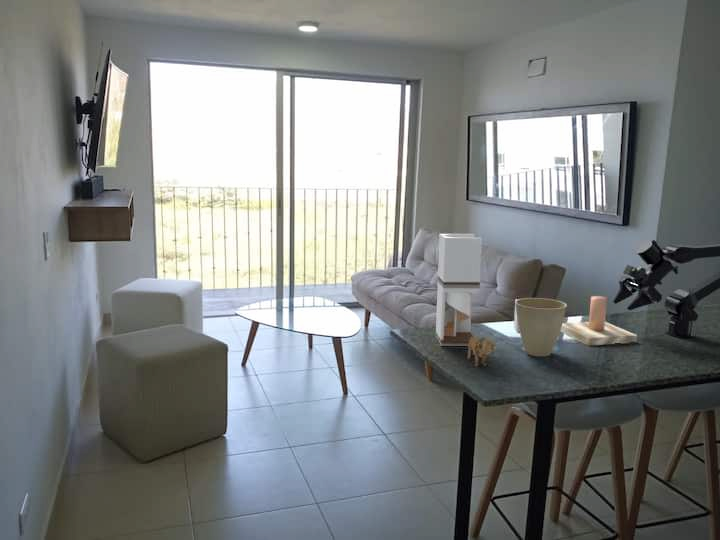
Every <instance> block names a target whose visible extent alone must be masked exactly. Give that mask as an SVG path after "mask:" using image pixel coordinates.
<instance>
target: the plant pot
mask: <svg viewBox="0 0 720 540" xmlns="http://www.w3.org/2000/svg"><path fill="white" fill-rule="evenodd" d="M566 311H567V303H565V302H563V301H561V300H556V299H551V298H544V297H543V298H541V297H527V298H525V297H524V298H519V299H517V301H516V312H517V320H518V325H519V330H520V332H519V334H520V338H521V339H520V340H521V341H522V345H523V348H524V350H525V353H526V354H527V355H529V356H533V357H539V358H540V357H543V358H544V357H548V356H550V355H551V354H552V352H553V350H554V347H555V345H556V344H557V341H558V338H559V335H560V333H561V332H560V330H561V327H562V323H564V319H565V315H566Z"/></svg>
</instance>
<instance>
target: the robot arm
mask: <svg viewBox="0 0 720 540" xmlns="http://www.w3.org/2000/svg"><path fill="white" fill-rule="evenodd" d="M635 253H636V255H638V257H639V258H640V259H641V260H642V261H643V262H644V263H645V265H650V266H649V267H648V268H647V269H646V268H645V267H643V266H638V267H635V266H632V265H629V264H627V265H626V267H624V270H623V272H622V274H624V275H621V276H620V277H619V278H618V284H619V290H618V292H617V293H616V295H615V298H614V299H613V301H612V303H614V305H616V304H619V303H620V302H622V301H624V300H626V299H628V298H630V297H632V296H634V294H635V293H636V292H637V291H638V293H637V296H636V297H635V298H634V299H633V300H632V301H631V302H630V303H629V305H628V306H627V308H626V309H627V310H628V311H632V310H635V309H638V308H639V309H640V308H642V307H644V306H645V307H646V306H649V305H653V304H658V303H660V302H661V301H662V299H663V295H662V294H661V293H660V291H658V289H657V288H656V287H657V285H658V286H661V285H662V284H663V282H662V281H663V280H664V279H665V278H666V277H667V276H668V275H669V274H673V275H678V274H679V271H678V268H679V266H677V265H674V263H676V264H681V265H682V264H686V263H690V262H692V261H694V260H697V259H704V258H705V259H706V258H716V257H720V243H718V244H717V243H716V244H706V245H693V246H689V245H684V244H683V245H682V244H681V245H680V244H669V245H667V246H666V247H663V248H661V247H660V245H658V242H657V241H656V240H655V239H649V240H648V241H645V242H643V243H641V244H639V245H638V246H637V247H636V249H635ZM626 275H627V276H626ZM629 276H630V277H629ZM718 290H720V271H718V272H717V273H715V274H714V275H712V276H710V277H709V278H707V279H705V280H703V281H702V282H699V284H697V285H695V286H694V287H692V288H691V289H688V290H683V289H681V288H678V289H676V290H674V292H672V293H669V294H668V296H667V297H666V298H665V301H664V308H665V310H666V311H667V312H666V313H667V314H668V316H670V319H669V320H670V321H669V322H668V330H667V331H665V333H666V334H668V335H670V336H673V337H676V338H679V339H682V338H694V337H696V336H695V335H694V334H692V329H693V322H696V321H697V319H698V318H699V314H698V313H697V312H696V310H695V309H696V307H697V305H698V304H699V302H700V301H702V300H704V299H705V298H706V297H709V296H710V295H711V294H713V293H715V292H717V291H718Z"/></svg>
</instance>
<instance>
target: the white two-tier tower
mask: <svg viewBox="0 0 720 540" xmlns="http://www.w3.org/2000/svg"><path fill="white" fill-rule="evenodd" d="M438 236H439V237H438V239H439V240H438V262H437V263H438V266H437V267H438V268H437V293H436V316H435V317H436V320H435V339H436V338H437V339H438V341H439V342H438V341H437V342H438V343H440V344H439V346H440V345H441V346H468V344H469V340H470V338H472V337H475V336H474V335H473V334H472V333H471V326H472V324H471V321H472V307H473V306H472V304H473V303H472V302H473V301H472V300H473V294H475V293H476V294H479V293H480V289H481V288H480V286H481V267H482V251H483V249H482V246H483V238H482V237H476V234H475V233H439V235H438ZM437 339H436V340H437ZM441 346H440V347H441Z"/></svg>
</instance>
